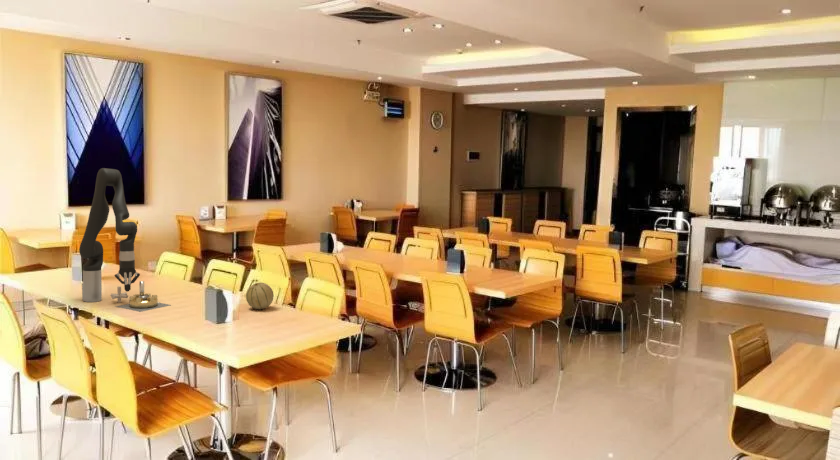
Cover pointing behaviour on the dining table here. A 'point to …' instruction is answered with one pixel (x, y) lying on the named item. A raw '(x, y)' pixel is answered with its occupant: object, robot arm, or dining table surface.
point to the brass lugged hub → (143, 299)
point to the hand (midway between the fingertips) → (127, 291)
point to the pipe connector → (119, 295)
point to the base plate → (143, 308)
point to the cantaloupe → (259, 296)
